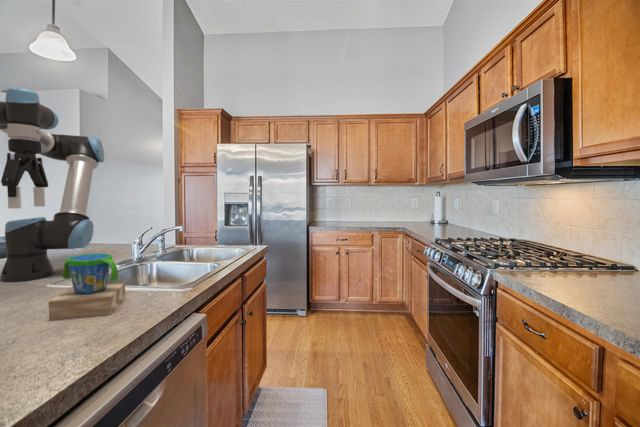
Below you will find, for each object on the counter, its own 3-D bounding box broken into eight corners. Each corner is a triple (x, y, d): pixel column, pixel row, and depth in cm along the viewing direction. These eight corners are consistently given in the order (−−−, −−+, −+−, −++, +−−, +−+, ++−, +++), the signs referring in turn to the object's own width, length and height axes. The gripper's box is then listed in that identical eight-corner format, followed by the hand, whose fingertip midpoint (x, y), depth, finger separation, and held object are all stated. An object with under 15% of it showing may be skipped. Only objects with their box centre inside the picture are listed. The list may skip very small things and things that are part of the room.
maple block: (72, 302, 94) (72, 286, 94) (125, 298, 99) (124, 282, 98) (49, 320, 81) (48, 301, 81) (111, 314, 86) (110, 296, 85)
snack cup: (128, 287, 94) (127, 254, 93) (96, 299, 83) (95, 261, 83) (86, 284, 97) (84, 251, 96) (50, 294, 86) (49, 258, 86)
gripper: (15, 133, 86) (19, 209, 88) (58, 146, 110) (61, 205, 111) (-20, 131, 84) (-15, 209, 85) (32, 145, 107) (35, 205, 109)
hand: (28, 207), depth 98 cm, fingers open, 13 cm apart
